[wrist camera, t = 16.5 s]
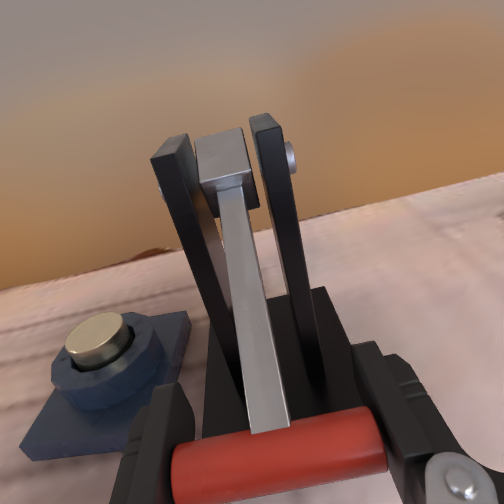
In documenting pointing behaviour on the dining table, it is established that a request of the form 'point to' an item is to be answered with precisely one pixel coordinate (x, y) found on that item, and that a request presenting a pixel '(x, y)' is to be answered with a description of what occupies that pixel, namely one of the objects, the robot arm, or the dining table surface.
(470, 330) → the dining table surface
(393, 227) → the dining table surface
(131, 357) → the box
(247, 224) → the lever
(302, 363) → the bracket
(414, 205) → the dining table surface
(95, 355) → the button
